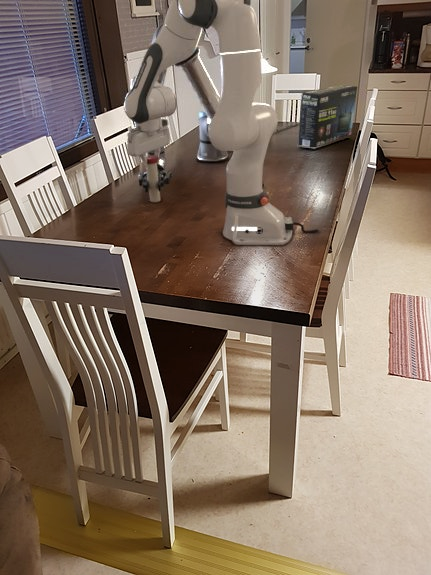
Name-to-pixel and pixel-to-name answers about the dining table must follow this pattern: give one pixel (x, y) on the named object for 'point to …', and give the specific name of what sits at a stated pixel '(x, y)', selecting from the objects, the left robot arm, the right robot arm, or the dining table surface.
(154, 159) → the lid
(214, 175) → the dining table surface
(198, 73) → the left robot arm
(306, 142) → the router box
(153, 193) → the white cylinder
